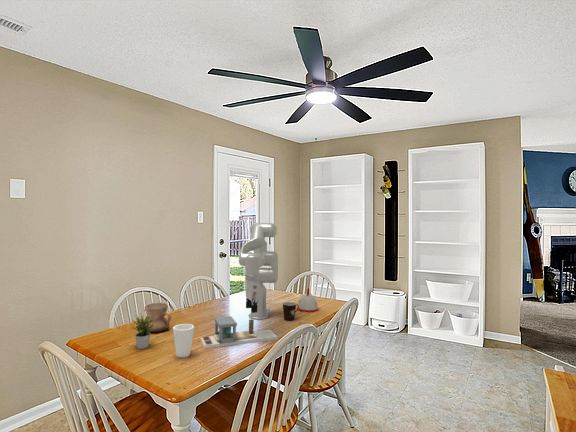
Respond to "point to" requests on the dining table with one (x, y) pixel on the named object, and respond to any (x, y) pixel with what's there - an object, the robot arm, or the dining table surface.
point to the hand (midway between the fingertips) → (251, 310)
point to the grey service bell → (308, 303)
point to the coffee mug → (289, 310)
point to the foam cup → (183, 339)
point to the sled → (237, 333)
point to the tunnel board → (234, 335)
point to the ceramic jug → (160, 311)
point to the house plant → (143, 331)
